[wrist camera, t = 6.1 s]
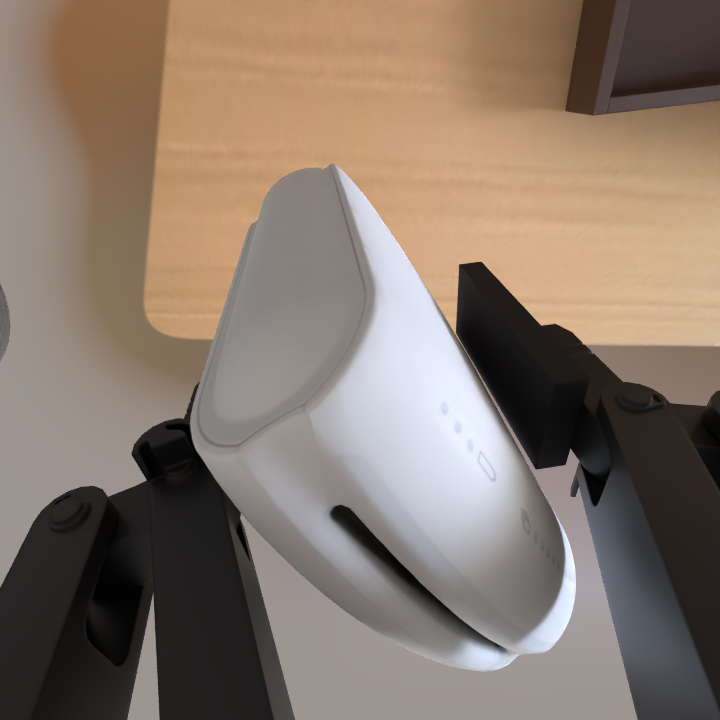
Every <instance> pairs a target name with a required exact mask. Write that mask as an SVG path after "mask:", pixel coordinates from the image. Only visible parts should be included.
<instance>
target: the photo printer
mask: <svg viewBox="0 0 720 720" xmlns="http://www.w3.org/2000/svg"><path fill="white" fill-rule="evenodd" d="M190 428H191V434H192V440H193V443H194V446H195V449H196V451H197V452H198V454H199V455H200V456H201V458H202V459H203V461H204V462H205V464H206V466H207V467H208V469H209V470H210V472H211V473H212V475H213V476H214V478H215V480H216V481H217V482H218V484H219V485H220V486H221V488H222V489H223V490H224V492H225V493H226V494H227V496H228V497H229V498H230V500H231V501H232V502H233V504H234V505H235V506H236V507H237V509H238V510H239V511H240V512H241V513H242V515H243V516H244V517H245V518H246V519H247V520H248V521H249V523H250V524H251V525H252V526H253V527H254V528H255V529H256V530H257V531H258V532H259V534H260V535H261V536H262V537H263V538H265V540H266V541H267V542H269V544H270V545H271V546H272V547H273V548H274V549H275V550H276V551H277V552H278V553H279V554H280V555H281V556H282V557H283V558H285V560H287V562H289V563H290V564H291V565H292V566H293V567H294V568H295V569H296V570H297V571H298V572H299V573H300V574H301V575H302V576H304V577H305V578H306V579H307V580H308V581H309V582H310V583H312V584H313V585H314V586H315V587H316V588H318V590H320V591H321V592H322V593H323V594H324V595H326V596H327V597H328V598H329V599H331V600H332V601H333V602H334V603H336V604H337V605H338V606H340V607H341V608H342V609H343V610H345V611H346V612H347V613H349V614H350V615H352V616H353V617H355V618H356V619H358V620H359V621H361V622H362V623H364V624H365V625H367V626H368V627H369V628H371V629H372V630H374V631H376V632H377V633H379V634H381V635H382V636H384V637H386V638H387V639H389V640H391V641H393V642H394V643H396V644H398V645H400V646H402V647H404V648H406V649H408V650H410V651H413V652H415V653H417V654H419V655H421V656H423V657H426V658H428V659H430V660H433V661H436V662H439V663H442V664H445V665H448V666H452V667H457V668H462V669H467V670H475V671H492V670H496V669H500V668H503V667H505V666H507V665H508V664H509V663H510V662H512V660H514V659H515V658H516V657H517V656H518V655H521V654H529V653H530V654H532V653H533V654H538V653H543V652H546V651H548V650H549V649H550V648H551V647H552V646H553V645H554V644H555V643H556V642H557V640H558V639H559V638H560V636H561V635H562V633H563V632H564V630H565V628H566V626H567V624H568V622H569V619H570V616H571V613H572V610H573V606H574V600H575V589H576V588H575V587H576V578H575V566H574V560H573V555H572V551H571V547H570V545H569V542H568V539H567V536H566V534H565V532H564V530H563V528H562V526H561V524H560V522H559V520H558V518H557V517H556V515H555V513H554V511H553V509H552V507H551V506H550V504H549V502H548V500H547V498H546V497H545V495H544V493H543V491H542V489H541V487H540V486H539V484H538V483H537V480H536V478H535V477H534V475H533V473H532V471H531V470H530V468H529V466H528V464H527V462H526V461H525V459H524V457H523V455H522V454H521V452H520V450H519V448H518V446H517V445H516V443H515V441H514V439H513V437H512V435H511V434H510V432H509V430H508V428H507V427H506V425H505V423H504V421H503V419H502V417H501V416H500V414H499V412H498V410H497V408H496V407H495V405H494V403H493V401H492V399H491V398H490V396H489V394H488V392H487V390H486V388H485V387H484V385H483V383H482V381H481V379H480V377H479V375H478V374H477V372H476V370H475V368H474V367H473V365H472V363H471V361H470V359H469V357H468V356H467V354H466V352H465V351H464V349H463V347H462V345H461V344H460V342H459V340H458V338H457V337H456V335H455V333H454V332H453V330H452V328H451V327H450V325H449V323H448V322H447V320H446V318H445V317H444V315H443V313H442V312H441V310H440V308H439V307H438V305H437V304H436V302H435V300H434V299H433V297H432V296H431V294H430V292H429V291H428V289H427V288H426V286H425V284H424V283H423V281H422V280H421V278H420V276H419V275H418V273H417V272H416V270H415V269H414V267H413V265H412V264H411V262H410V261H409V259H408V258H407V256H406V255H405V253H404V252H403V250H402V249H401V247H400V246H399V244H398V243H397V241H396V240H395V238H394V237H393V235H392V234H391V232H390V231H389V229H388V228H387V227H386V225H385V224H384V222H383V221H382V219H381V218H380V216H379V215H378V214H377V212H376V211H375V209H374V208H373V207H372V205H371V204H370V202H369V201H368V199H367V198H366V197H365V195H364V194H363V193H362V192H361V191H360V189H359V188H358V187H357V186H356V185H355V183H354V182H353V181H352V180H351V179H350V178H349V177H348V176H347V175H346V174H345V173H344V172H343V171H342V170H341V169H340V168H339V167H338V166H336V165H335V164H333V163H332V164H330V165H329V166H328V167H327V168H325V169H321V168H306V169H301V170H297V171H295V172H293V173H290V174H288V175H287V176H285V177H283V178H282V179H280V180H279V181H278V182H277V183H276V184H275V185H274V186H273V187H272V188H271V189H270V191H269V192H268V194H267V195H266V197H265V199H264V202H263V204H262V208H261V211H260V215H259V219H258V221H256V222H254V223H252V224H251V226H250V228H249V229H248V232H247V235H246V238H245V242H244V244H243V248H242V251H241V255H240V257H239V261H238V264H237V268H236V271H235V274H234V277H233V281H232V283H231V286H230V290H229V293H228V297H227V300H226V303H225V305H224V308H223V312H222V315H221V318H220V321H219V324H218V328H217V331H216V333H215V336H214V340H213V342H212V345H211V349H210V352H209V355H208V359H207V363H206V365H205V368H204V371H203V374H202V378H201V380H200V383H199V386H198V390H197V393H196V396H195V400H194V403H193V408H192V412H191V419H190Z"/></svg>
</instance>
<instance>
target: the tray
mask: <svg viewBox="0 0 720 720" xmlns="http://www.w3.org/2000/svg"><path fill="white" fill-rule="evenodd" d="M719 100H720V0H584V2H583V8H582V14H581V20H580V26H579V32H578V38H577V44H576V50H575V56H574V62H573V68H572V75H571V81H570V87H569V93H568V99H567V105H566V111H568V112H574V113H580V114H587V115H601V114H610V113H618V112H627V111H635V110H643V109H652V108H660V107H669V106H677V105H685V104H694V103H702V102H711V101H719Z"/></svg>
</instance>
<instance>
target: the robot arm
mask: <svg viewBox="0 0 720 720" xmlns="http://www.w3.org/2000/svg"><path fill="white" fill-rule="evenodd" d="M456 334H457V336H458V337H459V339H460V341H461V342H462V344H463V346H464V348H465V349H466V351H467V353H468V354H469V356H470V358H471V360H472V361H473V363H474V365H475V366H476V368H477V370H478V372H479V373H480V375H481V377H482V378H483V380H484V382H485V383H486V385H487V387H488V389H489V390H490V392H491V394H492V395H493V397H494V399H495V401H496V402H497V404H498V406H499V407H500V409H501V411H502V412H503V414H504V416H505V418H506V419H507V421H508V423H509V424H510V426H511V428H512V429H513V431H514V433H515V435H516V437H517V438H518V440H519V441H520V443H521V445H522V447H523V448H524V450H525V452H526V453H527V455H528V457H529V459H530V460H531V462H532V464H533V466H534V467H535V469H542V468H549V467H555V466H562V465H565V464H566V461H567V458H568V455H569V451H570V448H571V449H572V451H573V452H574V454H575V455H576V457H577V458H578V459H579V464H578V468H577V471H576V474H575V477H574V480H573V483H572V486H571V497H575V496H576V493H577V490H578V488H579V487H580V491H581V495H582V499H583V503H584V507H585V511H586V515H587V519H588V523H589V527H590V531H591V534H592V539H593V542H594V547H595V551H596V555H597V558H598V563H599V567H600V571H601V575H602V578H603V583H604V587H605V591H606V594H607V599H608V603H609V607H610V611H611V615H612V619H613V623H614V626H615V631H616V635H617V639H618V643H619V647H620V651H621V654H622V658H623V663H624V667H625V671H626V675H627V679H628V682H629V687H630V691H631V694H632V699H633V702H634V707H635V711H636V715H637V719H638V720H720V391H717V392H716V393H715V394H714V395H713V396H712V397H711V398H710V400H709V402H708V404H707V406H696V405H683V404H672V403H669V402H668V401H667V400H666V398H665V397H664V396H663V395H661V394H660V393H658V392H657V391H655V390H653V389H651V388H649V387H646V386H643V385H640V384H635V383H629V382H623V381H622V380H621V379H619V378H618V377H617V376H616V375H615V374H614V373H613V372H612V371H611V370H610V369H609V368H608V367H607V366H606V365H605V364H604V363H603V362H602V361H601V360H600V359H599V358H598V357H597V356H596V355H595V354H592V353H591V350H590V349H588V347H587V346H586V345H583V343H582V342H581V341H580V340H579V339H578V338H577V337H576V336H575V335H574V334H573V333H572V332H571V331H569V330H567V329H565V328H563V327H561V326H559V325H557V324H551V325H544V326H541V325H540V324H539V323H538V322H537V321H536V320H535V319H534V318H533V317H532V315H531V314H530V313H529V312H528V311H527V310H526V309H525V308H524V307H523V306H522V305H521V304H520V303H519V302H518V300H517V299H516V298H515V297H514V296H513V295H512V294H511V293H510V292H509V291H508V290H507V289H506V288H505V287H504V286H503V284H502V283H501V282H500V281H499V280H498V279H497V278H496V277H495V276H494V275H493V274H492V273H491V272H490V271H489V269H488V268H487V267H486V266H485V265H484V264H483V263H482V262H475V263H468V264H460V265H459V282H458V302H457V322H456ZM199 383H200V382H199ZM199 383H198V384H197V385H196V386H195V388H194V391H193V394H192V397H191V402H190V403H189V406H188V409H187V414H186V415H185V417H184V419H180V418H179V419H178V418H177V419H173V420H168V421H164V422H163V423H160V424H158V425H156V426H154V427H152V428H151V429H149V430H148V431H147V432H145V433H144V434H143V435H141V437H140V438H139V439H138V441H137V442H136V443H135V444H134V447H133V451H132V456H133V458H134V459H135V461H136V462H137V464H138V466H139V468H140V469H141V471H142V473H143V474H144V476H145V478H146V479H147V481H145V482H143V483H141V484H139V485H137V486H134V487H132V488H129V489H127V490H124V491H122V492H119V493H117V494H114V495H112V496H109V497H108V496H107V495H106V493H105V492H104V491H103V489H100V488H98V487H95V486H88V487H80V488H77V489H74V490H71V491H68V492H66V493H65V494H63V495H61V496H59V497H58V498H56V499H54V500H53V501H52V502H51V503H50V504H49V505H47V506H46V507H45V508H44V509H43V510H42V511H41V512H40V514H39V515H38V517H37V518H36V520H35V521H34V522H33V524H32V526H31V528H30V530H29V532H28V534H27V537H26V538H25V540H24V542H23V544H22V546H21V548H20V550H19V552H18V554H17V556H16V558H15V560H14V562H13V564H12V566H11V568H10V570H9V572H8V574H7V576H6V578H5V580H4V582H3V584H2V586H1V588H0V720H127V718H128V713H129V707H130V703H131V698H132V693H133V688H134V683H135V679H136V674H137V668H138V664H139V658H140V654H141V649H142V644H143V640H144V635H145V630H146V625H147V620H148V615H149V610H150V605H151V600H152V596H153V593H154V611H155V612H154V613H155V633H156V653H157V672H158V673H157V674H158V694H159V714H160V720H295V718H294V714H293V710H292V707H291V703H290V699H289V695H288V691H287V688H286V684H285V680H284V677H283V672H282V669H281V665H280V661H279V657H278V654H277V650H276V646H275V642H274V638H273V635H272V631H271V627H270V623H269V619H268V616H267V612H266V608H265V604H264V601H263V597H262V593H261V589H260V585H259V582H258V578H257V574H256V571H255V566H254V563H253V559H252V555H251V551H250V548H249V544H248V540H247V536H246V532H245V529H244V526H243V524H242V522H241V519H240V515H241V512H240V511H239V510H238V509H237V507H236V506H235V505H234V504H233V502H232V501H231V500H230V498H229V497H228V496H227V494H226V493H225V492H224V490H223V489H222V488H221V486H220V485H219V484H218V482H217V481H216V480H215V478H214V476H213V475H212V473H211V472H210V470H209V469H208V467H207V466H206V464H205V462H204V461H203V459H202V458H201V456H200V455H199V454H198V452H197V451H196V449H195V446H194V443H193V440H192V434H191V428H190V419H191V412H192V408H193V403H194V400H195V396H196V393H197V390H198V386H199Z"/></svg>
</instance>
